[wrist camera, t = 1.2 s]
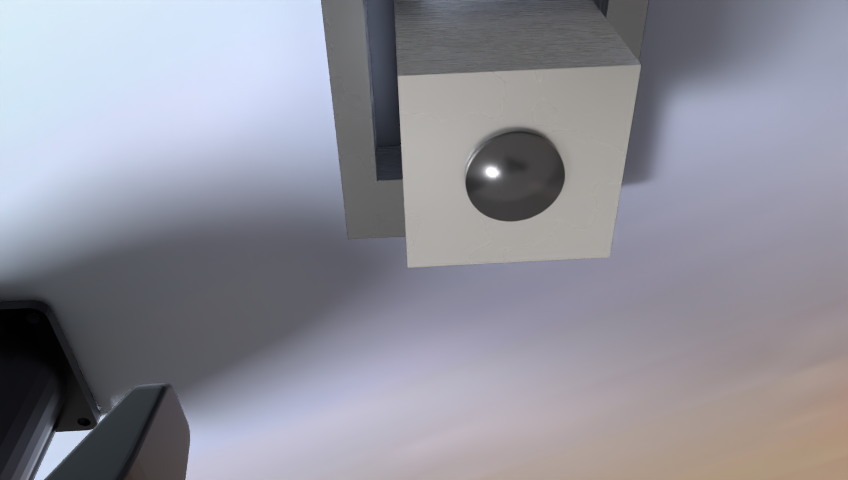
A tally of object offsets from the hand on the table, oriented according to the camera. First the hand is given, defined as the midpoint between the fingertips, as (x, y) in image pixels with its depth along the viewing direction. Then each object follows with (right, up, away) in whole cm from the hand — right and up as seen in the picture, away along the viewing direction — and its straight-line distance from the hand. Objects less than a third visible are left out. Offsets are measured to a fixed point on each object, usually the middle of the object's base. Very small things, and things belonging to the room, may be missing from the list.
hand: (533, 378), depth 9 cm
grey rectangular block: (0, +7, +11) cm, 13 cm away
